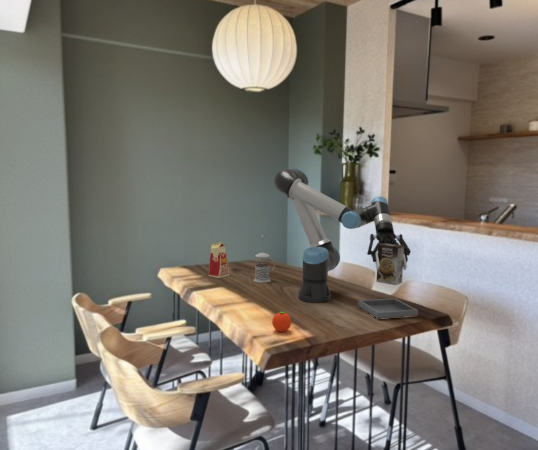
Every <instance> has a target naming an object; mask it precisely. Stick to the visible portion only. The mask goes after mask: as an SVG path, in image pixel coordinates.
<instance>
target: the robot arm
mask: <svg viewBox="0 0 538 450" xmlns="http://www.w3.org/2000/svg"><path fill="white" fill-rule="evenodd" d="M273 185H274V187H275V188H276V190H278V191H279V192H280V193H282V194H284V195H286V198H287V199H288V200H289V201H291V202H292V203H293V207H294V209H295V211H296V214H297V216H298V218H299V220H300V223H301V225H302V228H303V231H304V232H305V235H306V238H307V240H308V243H309V245H310V246H309V247H308V248H306V249H305V250H304V251H303V252H302V253H303V254H302V281H301V285H300V286H299V287H300V288H299V291H298V299H299V300H300V301H303V302H305V303H316V304H317V303H327V302H330V301H331V299H332V298H331V297H332V294H331V290H330V286H329V283H328V279H329V278H328V277H329V274H328V272H330V271H333V270H335V268H337V266H338V265H339V264H340V261H341V254H340V252H339V250H338V249H337V248H336V247H335V246H334V245H333V243H332V241H331V240H330V239H328V238H327V236H326V234H325V231H324V229H323V227H322V224H321V223H320V220H319V218H318V215H317V213H316V211H315V209H316V210H318V211H320V213H323V214H325V215H326V216H328V217H330V218H332V219H334V220H335V221H338V223H341V224H342V226H343V227H344V228H346V229H348V230H349V229H350V230H353V229H358V228H361V227H363V226H365V225H368V224H371V223H372V222H373V223H374V226H375V233H376V234H373V233H370V236H369V246H368V249H367V253H366V254H367V255H368V256H371V258H372V259H371V260H372V262H373V263H375V268H376V271H377V270H378V269H379V267H380V265H379V259H378V244H382V243H388V244H396V245H404V256H403V271H406V270H407V268H408V265H407V263H408V261H409V259H408V258H409V256H410V254H411V253H412V252H411V251H412V250H411V249H410V248H409V246H408V245H407V243H406V241H405V240H404V238H403V234H401V233H400V234H399V235H397V234H395V231H394V230H395V229H394V226H393V221H392V217H391V211H390V205H389V203H388V200H387V198H386V197H383V196H375V197H373V199H371V202H370V205H368V206H365V207H363V208H360V209H358V210H355V209H354V210H353V209H351V208H350V207H348V206H346V205H345V204H342V203H341V202H340V201H337V200H335V199H333V198H332V197H329V196H328V195H326V194H324V193H322V192H320V191H319V190H317V189H315V188H313V187H312V186H309V177H308V176H307V174H306V173H305V172H304V171H302V170H301V169H297V168H282V169H280V170H278V171H277V172H276V173H275V174H274V177H273ZM375 240H377V243H376V245H375V247H374V249H373V250H372V248H373V244H374V241H375Z"/></svg>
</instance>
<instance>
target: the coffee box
mask: <svg viewBox="0 0 538 450" xmlns="http://www.w3.org/2000/svg"><path fill="white" fill-rule="evenodd" d="M377 244H378V243H377ZM377 253H378V259H379V265H380V267H379V269H378V270H377V269H376V283H382V284H385V285H386V284H387V285H392V286H398V285H400V284H403V276H404V275H403V271H404V269H403V256H404V245H400V244H399V245H396V244H388V243H382V244H378V251H377Z"/></svg>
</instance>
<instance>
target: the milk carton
mask: <svg viewBox="0 0 538 450" xmlns="http://www.w3.org/2000/svg"><path fill="white" fill-rule="evenodd" d="M209 254H210V255H209V264H208V265H209V266H208V277H211V278H212V277H213V278H217V279H221V278H224V277H228V276H230V267H229V260H228V257H227V251H226V246H225V245H224V243H223V241H219V242H211V247H210V253H209Z"/></svg>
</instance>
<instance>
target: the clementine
mask: <svg viewBox="0 0 538 450" xmlns="http://www.w3.org/2000/svg"><path fill="white" fill-rule="evenodd" d="M271 321H272V323H271V324H272V327H273V328H274V330H275V331H277V332H279V333H280V332H281V333H282V332H283V333H284V332H286V331H288V330H289V329H290V328H291V325H292V319H291V317H290V316H289V314H288V313H286V312H284V311H279V312H277V313H275V315H274V316H273V317H272V320H271Z"/></svg>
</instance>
